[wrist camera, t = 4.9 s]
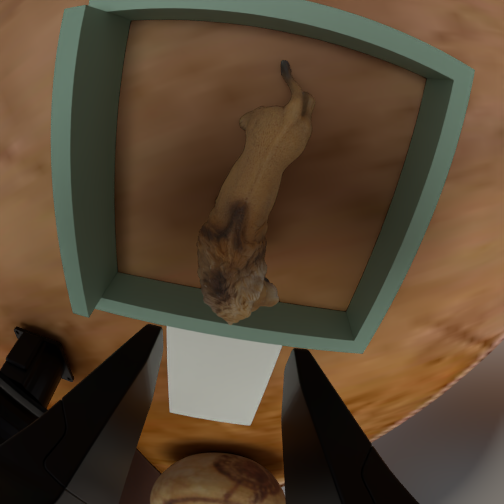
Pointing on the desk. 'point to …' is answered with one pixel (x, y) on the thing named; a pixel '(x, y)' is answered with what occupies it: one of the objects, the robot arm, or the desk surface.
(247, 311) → the lion figurine
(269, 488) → the clay pot
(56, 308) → the desk surface
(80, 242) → the cold frame
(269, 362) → the tile pad
